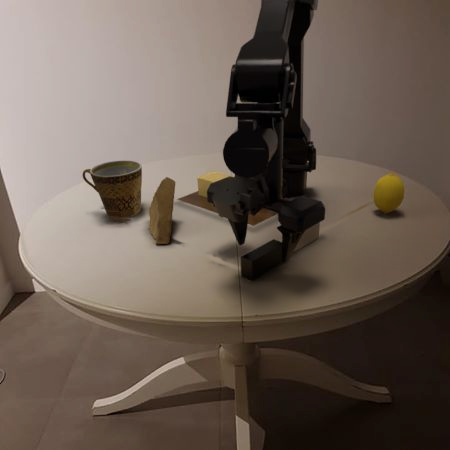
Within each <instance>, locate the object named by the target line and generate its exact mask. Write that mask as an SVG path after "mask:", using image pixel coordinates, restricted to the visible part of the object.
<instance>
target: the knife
mask: <svg viewBox="0 0 450 450" xmlns="http://www.w3.org/2000/svg"><path fill="white" fill-rule="evenodd" d="M320 226H321V222H319V223H318V224H316V225H314V226H312V227H310V228H309V229H307V230H306V231H305V232H304V233H303V235H302V237H301V238H300V240H299V242H298V244H297V246H296V248H295V250H294V252H293V253H295V252H297V251H298V250H300V249H302V248H304V247H306V246H307V245H309V244H310V243H312V242H314V241H316V240H317V239H319V238H320ZM293 253H292V254H293ZM282 264H285V263H284V262H283V260H282V241H280V240H277V239H274V238H273V239H271V240H270V241H268V242H266V243H264V244H262V245H260V246H258V247H257V248H254V249H253V250H251V251H249V252H247V253H245V254H243V255H241V256H240V276H241V277H242V278H244V279H247V280H249V281H250V282H253V281H256V280H258V279H259V278H261V277H262V276H264V275H266V274H267V273H269V272H270V271H272V270H274V269H275V268H277V267H279V266H281V265H282Z"/></svg>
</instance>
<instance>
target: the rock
mask: <svg viewBox="0 0 450 450" xmlns="http://www.w3.org/2000/svg"><path fill="white" fill-rule="evenodd" d="M175 191H176V181H175V180H173V179H172V178H170V177H168V176H166V177H164V178H163V179H162V180H161V181H160V183H159V185H158V186H157V187H156V191H155V192H154V194H153V196H152V201H151V203H150V206H149V209H148V215H149V222H148V223H149V224H148V228H147V230H149V233H150V234H151V235H152V237H153V238H154V239H155V243H156V244H157V245H168V244H170V240H171V233H172V223H173V211H174V203H175Z"/></svg>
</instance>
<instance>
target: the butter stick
mask: <svg viewBox="0 0 450 450" xmlns="http://www.w3.org/2000/svg"><path fill="white" fill-rule="evenodd" d="M229 176H231V177H234V176H233V175H231V174H226V173H222V172H218V171H211V172H207V173H205V174H202V175H199V176H197V179H196V180H197V191H198V192H199V195H200V196H203V197H207V190H208V188H209V186H210V184H211V183H214V182H216V181H219V180H221V179H224V178H226V177H229Z"/></svg>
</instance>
